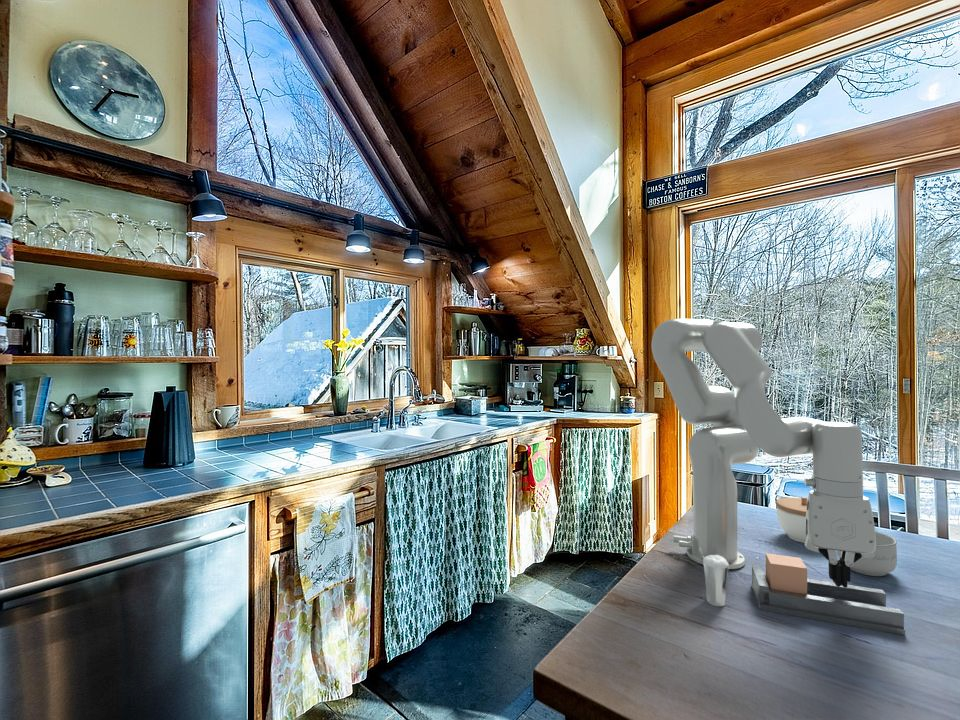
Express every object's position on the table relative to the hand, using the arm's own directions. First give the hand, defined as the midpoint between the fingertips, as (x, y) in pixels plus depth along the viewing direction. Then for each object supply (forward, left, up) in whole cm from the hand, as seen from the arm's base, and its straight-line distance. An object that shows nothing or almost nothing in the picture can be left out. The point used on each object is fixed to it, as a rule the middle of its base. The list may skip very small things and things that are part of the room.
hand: (839, 583), depth 88 cm
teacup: (+12, +24, -6) cm, 28 cm away
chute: (-3, 0, -6) cm, 6 cm away
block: (-9, 0, -4) cm, 10 cm away
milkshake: (-22, -5, -6) cm, 23 cm away
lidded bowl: (+3, +39, -6) cm, 40 cm away
